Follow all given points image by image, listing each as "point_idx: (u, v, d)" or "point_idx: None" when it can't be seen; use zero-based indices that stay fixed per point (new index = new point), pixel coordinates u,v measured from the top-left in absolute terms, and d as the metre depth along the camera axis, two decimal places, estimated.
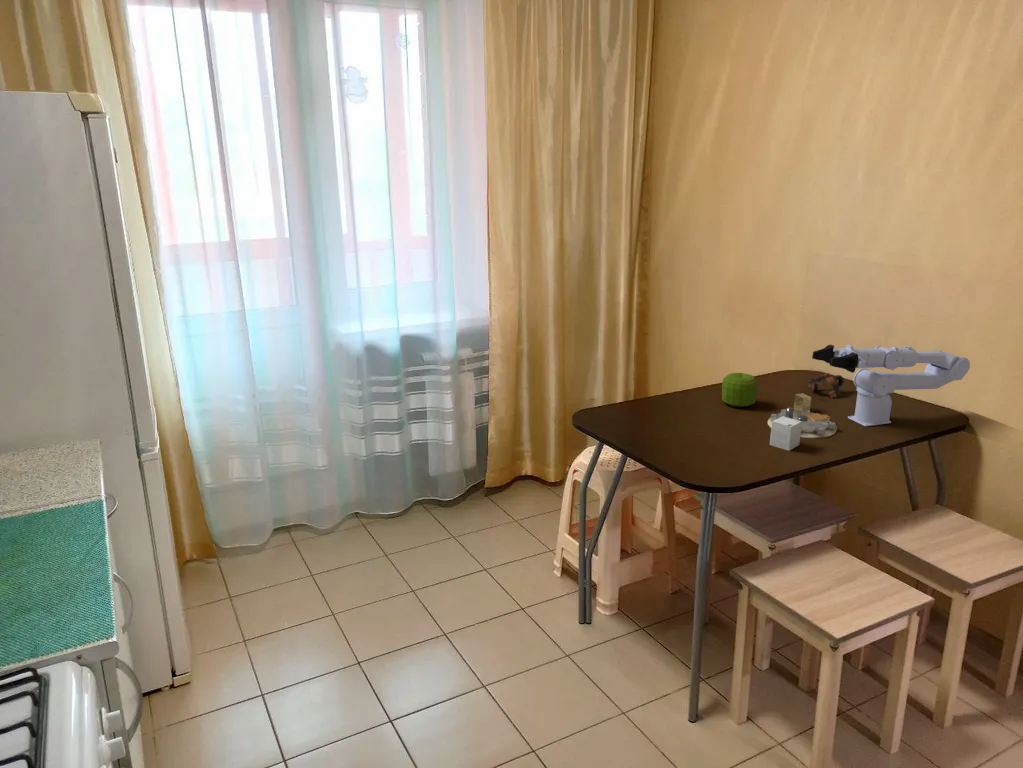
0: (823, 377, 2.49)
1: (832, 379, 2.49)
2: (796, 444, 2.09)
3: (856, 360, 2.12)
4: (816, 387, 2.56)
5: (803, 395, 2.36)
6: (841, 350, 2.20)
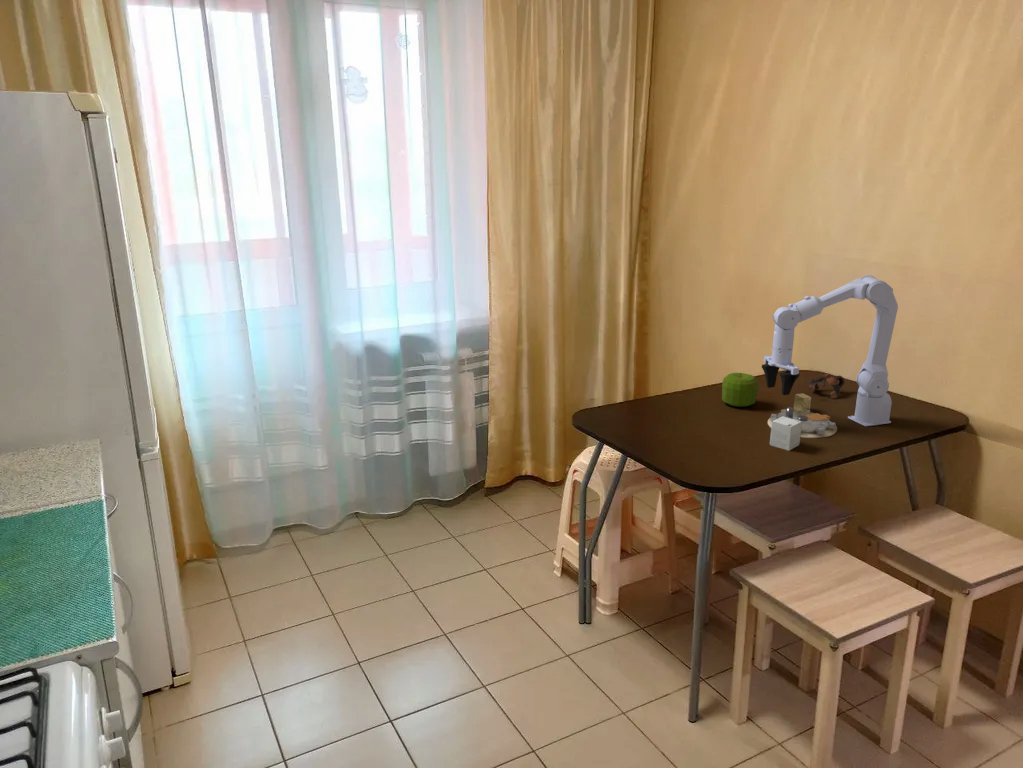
0: (824, 378, 2.48)
1: (833, 380, 2.48)
2: (796, 444, 2.09)
3: (789, 375, 2.19)
4: (816, 387, 2.56)
5: (803, 395, 2.36)
6: None
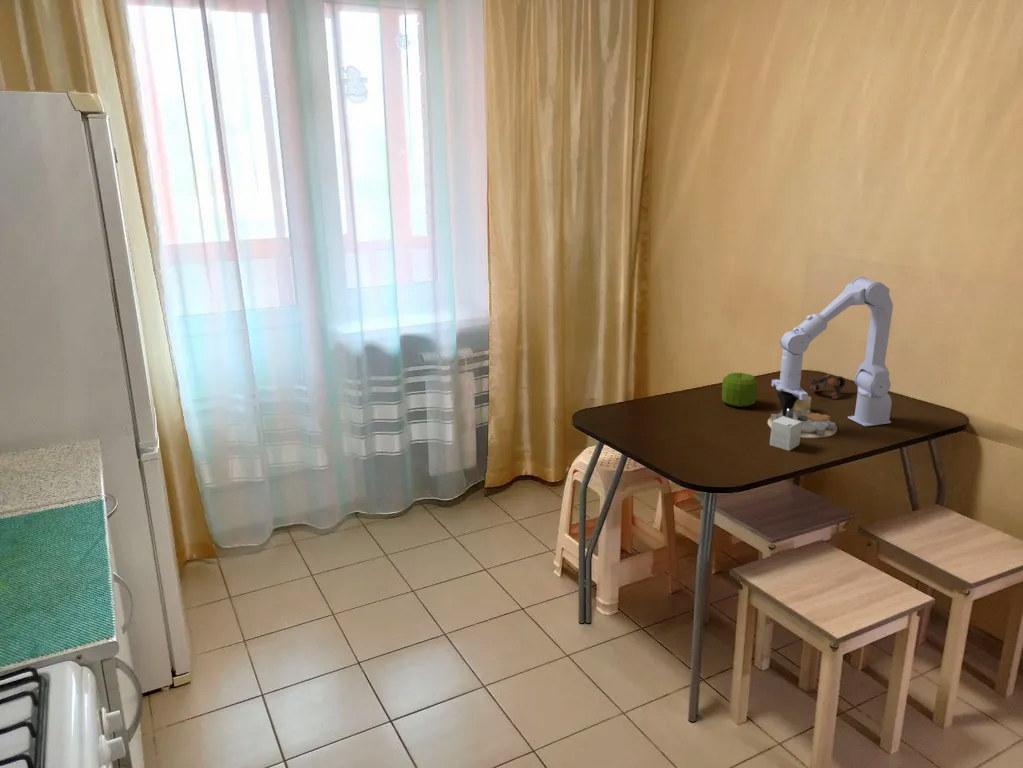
0: (825, 378, 2.47)
1: (834, 380, 2.47)
2: (796, 444, 2.09)
3: (790, 397, 2.20)
4: (817, 388, 2.55)
5: None
6: None
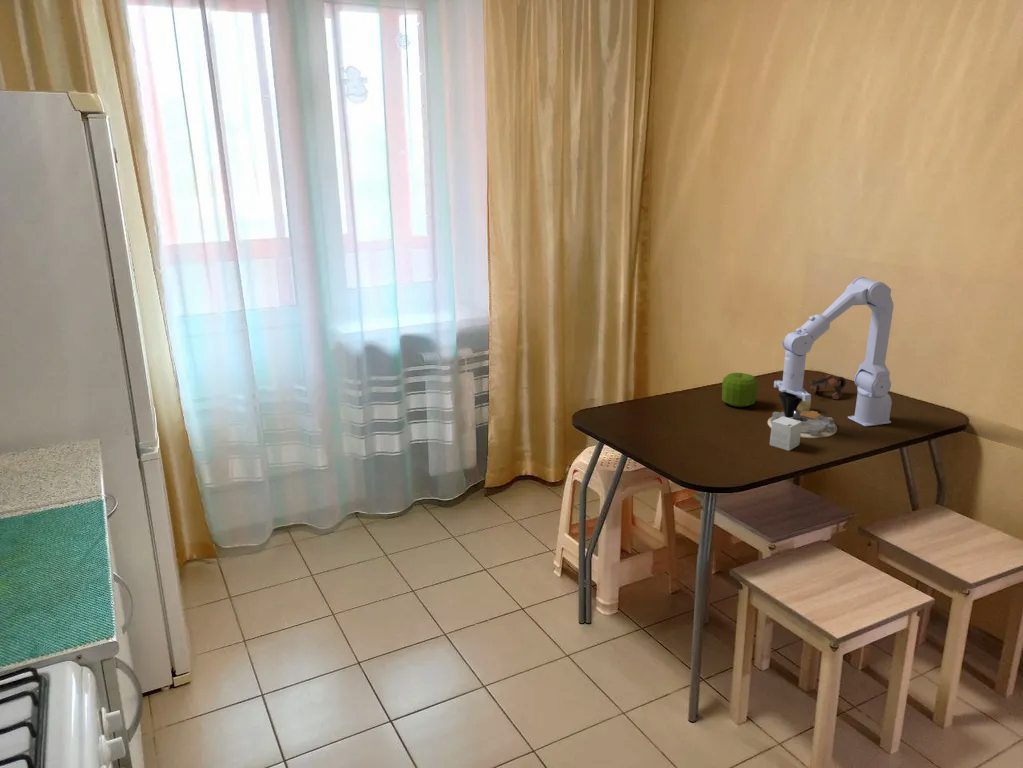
0: (825, 379, 2.47)
1: (834, 381, 2.47)
2: (796, 444, 2.09)
3: (793, 398, 2.18)
4: (818, 389, 2.55)
5: None
6: None
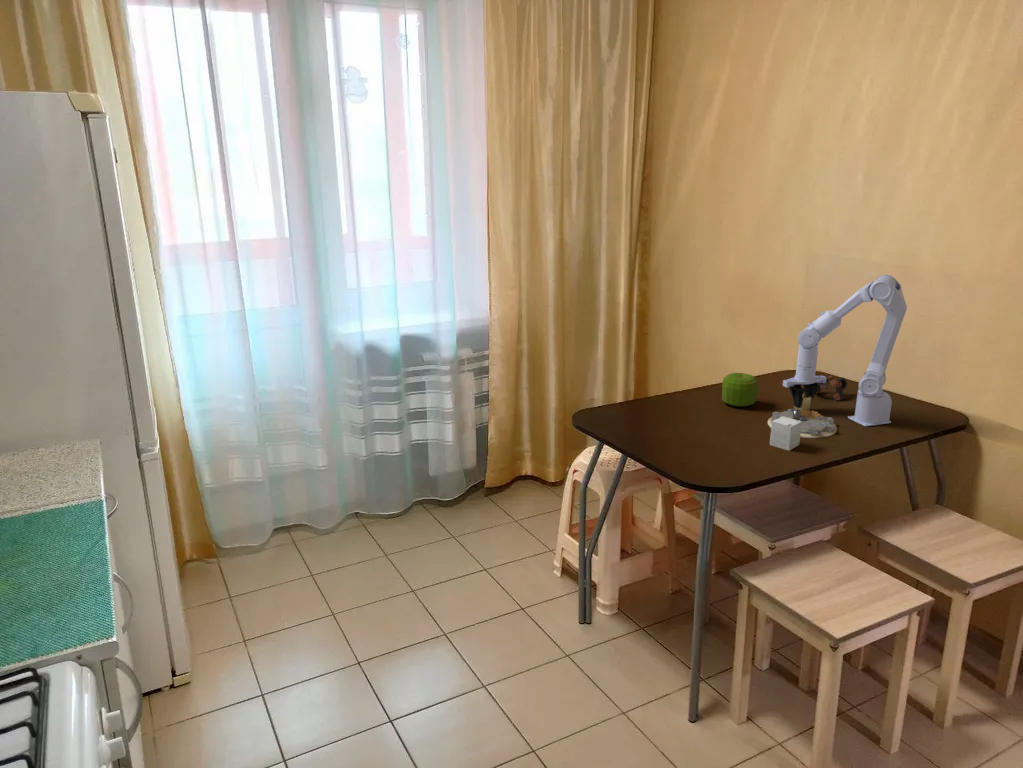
0: (827, 380, 2.46)
1: (836, 382, 2.46)
2: (796, 444, 2.09)
3: (791, 386, 2.35)
4: (819, 390, 2.53)
5: (803, 395, 2.36)
6: None
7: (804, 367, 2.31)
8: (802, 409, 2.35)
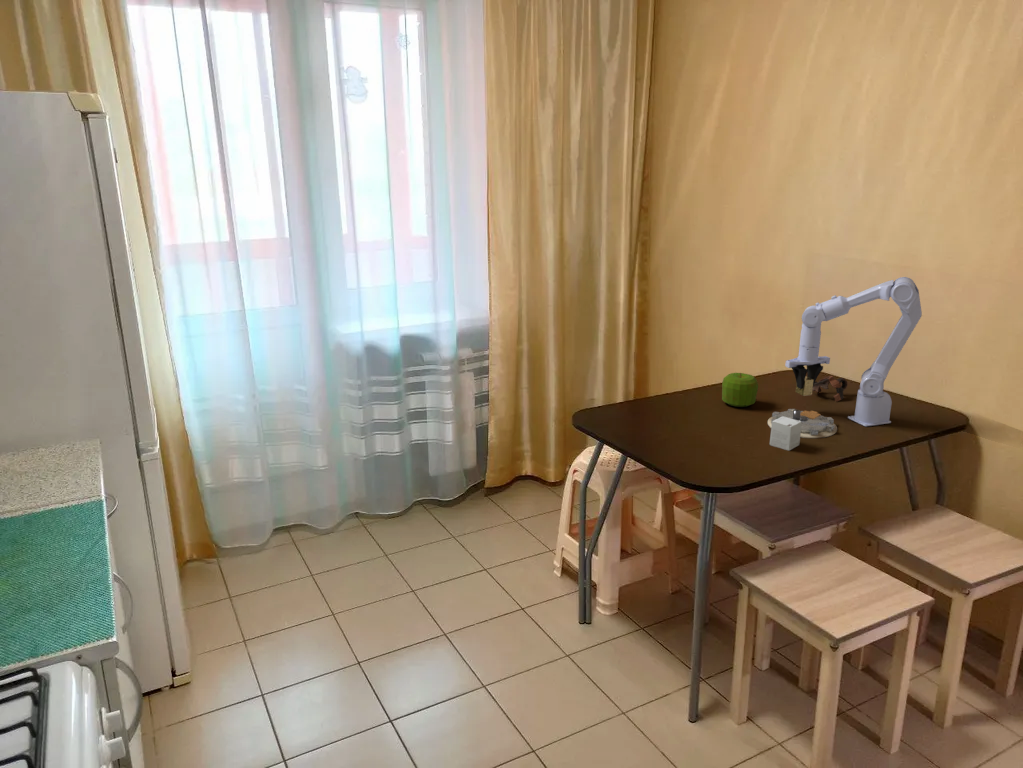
0: (827, 380, 2.46)
1: (836, 382, 2.46)
2: (796, 444, 2.09)
3: (793, 367, 2.31)
4: (819, 390, 2.53)
5: (805, 377, 2.33)
6: None
7: (807, 347, 2.27)
8: (804, 392, 2.31)
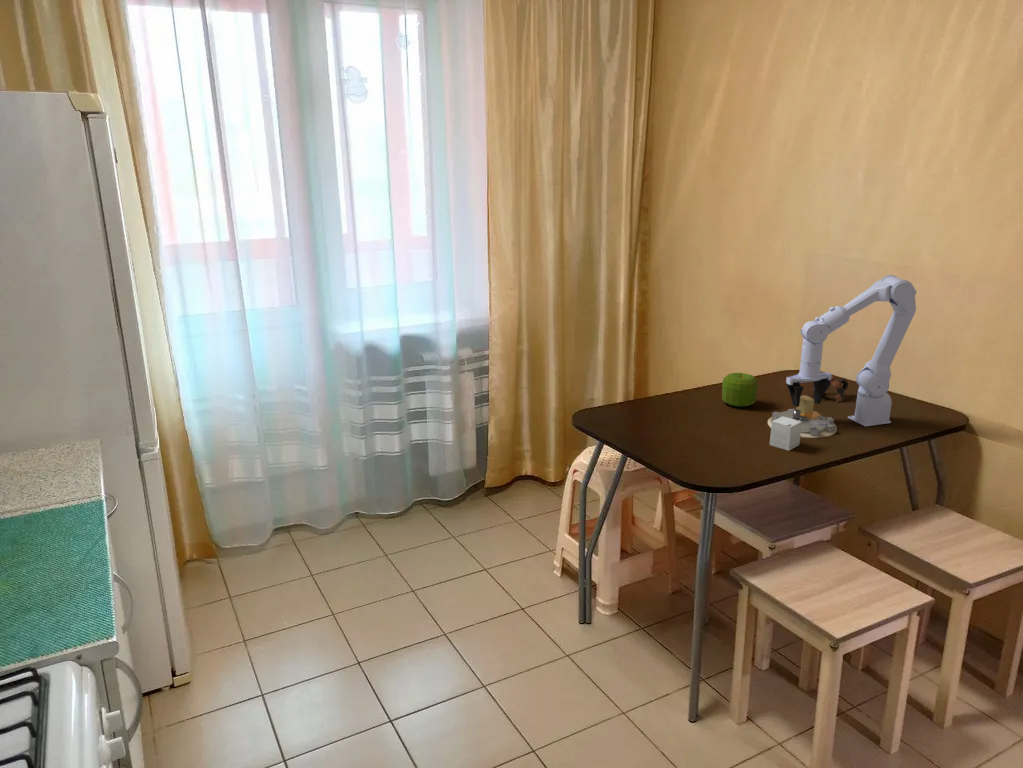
0: None
1: (837, 383, 2.45)
2: (796, 444, 2.09)
3: (789, 384, 2.24)
4: None
5: (806, 397, 2.27)
6: None
7: (808, 363, 2.21)
8: (805, 412, 2.26)
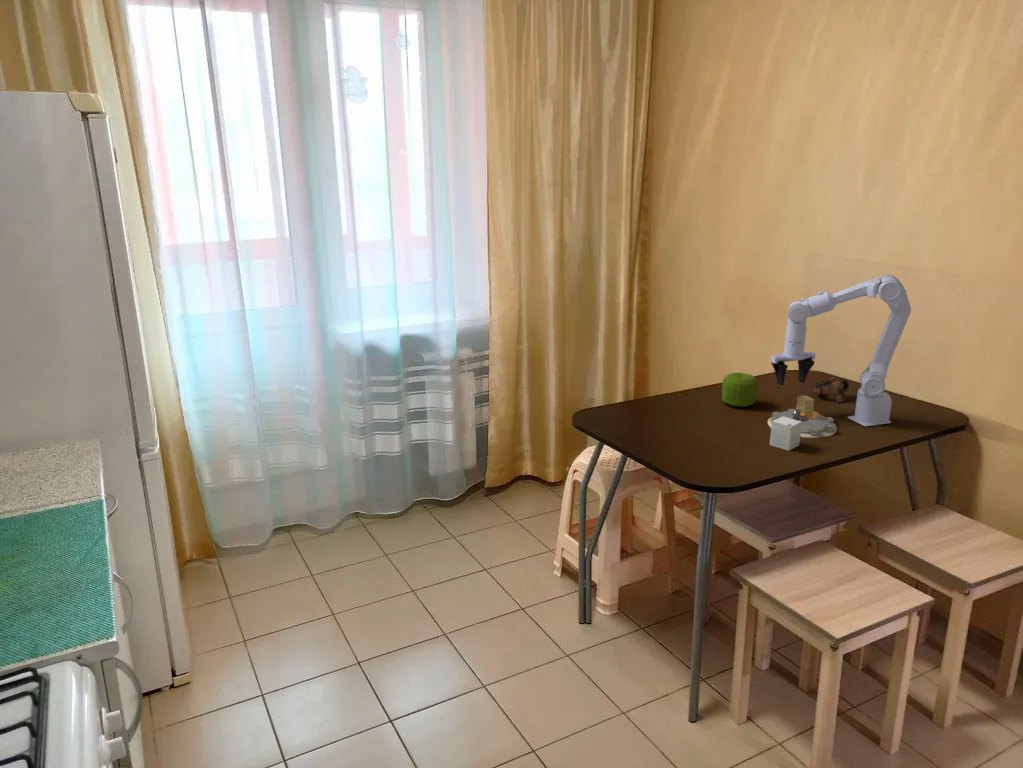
0: (829, 381, 2.44)
1: (838, 383, 2.44)
2: (796, 444, 2.09)
3: (773, 363, 2.30)
4: (821, 391, 2.52)
5: (806, 397, 2.27)
6: None
7: (793, 342, 2.26)
8: (805, 412, 2.26)
